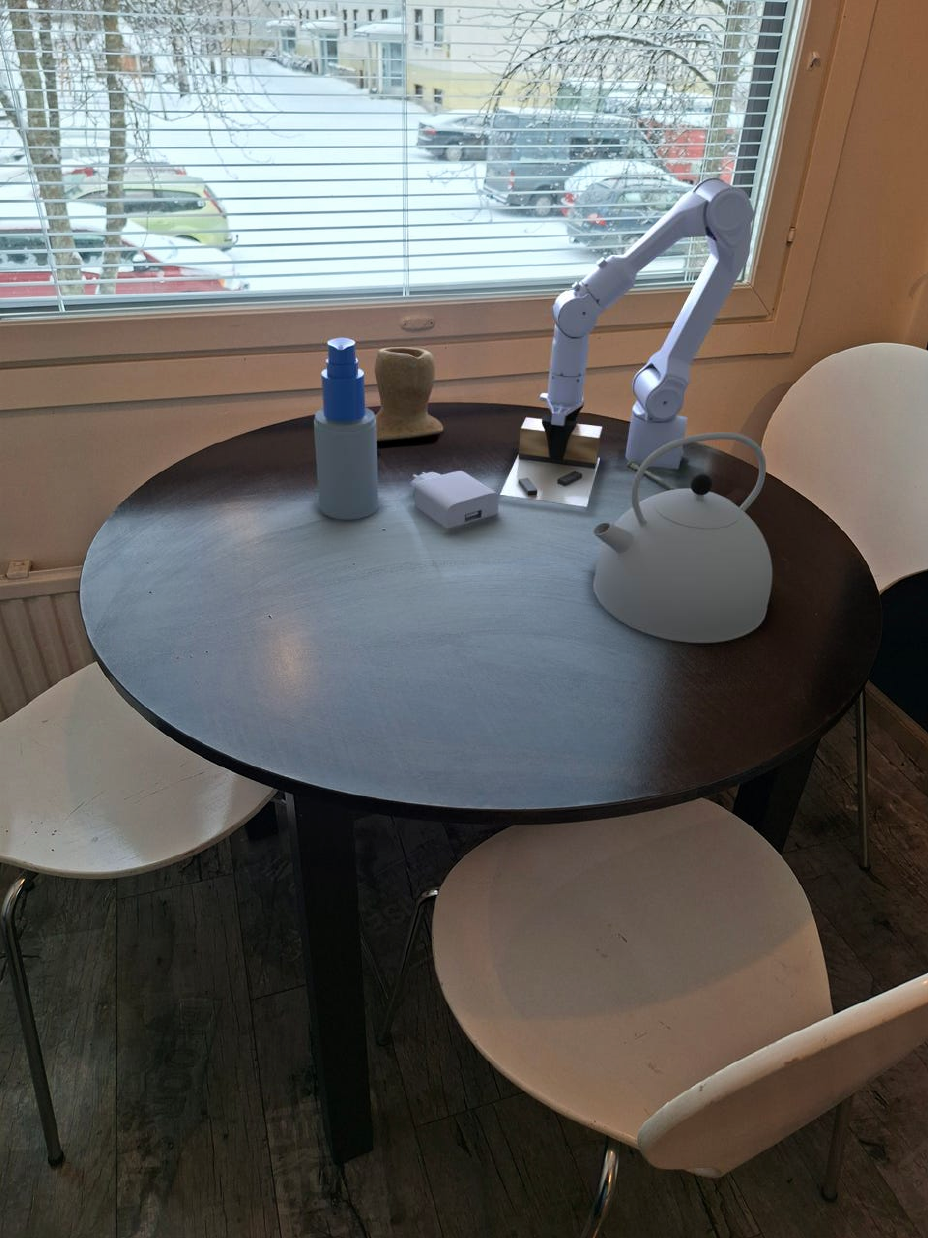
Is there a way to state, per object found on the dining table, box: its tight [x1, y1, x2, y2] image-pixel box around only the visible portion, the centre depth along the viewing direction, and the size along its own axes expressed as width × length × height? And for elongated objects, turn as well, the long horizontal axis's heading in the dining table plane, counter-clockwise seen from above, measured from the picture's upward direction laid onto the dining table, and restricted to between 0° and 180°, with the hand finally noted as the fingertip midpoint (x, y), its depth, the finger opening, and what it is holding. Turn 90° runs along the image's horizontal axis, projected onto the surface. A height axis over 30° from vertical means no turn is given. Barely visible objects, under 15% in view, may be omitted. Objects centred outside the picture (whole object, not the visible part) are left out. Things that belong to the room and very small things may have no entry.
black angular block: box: [557, 471, 582, 486], centre depth 141 cm, size 4×2×1 cm, turn 137°
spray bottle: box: [313, 337, 379, 520], centre depth 126 cm, size 9×9×25 cm
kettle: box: [592, 431, 773, 644], centre depth 110 cm, size 25×23×23 cm
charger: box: [409, 470, 500, 530], centre depth 133 cm, size 5×9×15 cm
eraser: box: [517, 416, 603, 469], centre depth 147 cm, size 13×5×6 cm, turn 77°
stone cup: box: [374, 346, 444, 442], centre depth 153 cm, size 15×12×15 cm
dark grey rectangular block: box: [518, 478, 537, 495], centre depth 138 cm, size 4×2×1 cm, turn 16°
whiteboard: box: [499, 454, 601, 508], centre depth 143 cm, size 15×20×1 cm
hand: (559, 450), depth 147 cm, fingers open, 6 cm apart
